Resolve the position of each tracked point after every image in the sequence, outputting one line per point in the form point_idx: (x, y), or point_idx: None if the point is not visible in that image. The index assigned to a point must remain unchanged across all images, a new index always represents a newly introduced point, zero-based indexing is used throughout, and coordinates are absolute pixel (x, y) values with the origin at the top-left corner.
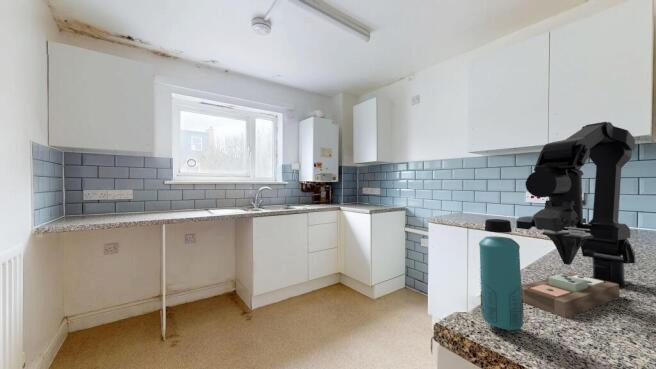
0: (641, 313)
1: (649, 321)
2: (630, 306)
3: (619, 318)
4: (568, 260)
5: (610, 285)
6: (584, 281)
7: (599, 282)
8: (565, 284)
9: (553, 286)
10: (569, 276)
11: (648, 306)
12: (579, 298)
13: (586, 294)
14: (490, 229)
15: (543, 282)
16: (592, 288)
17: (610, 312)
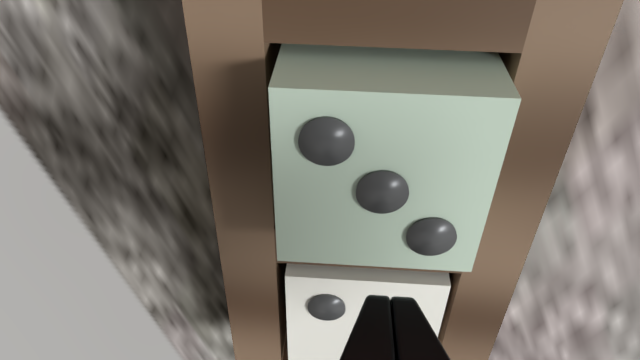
0: (92, 193)
1: (6, 114)
2: (166, 245)
3: (63, 15)
4: (358, 338)
5: (244, 340)
6: (276, 224)
7: (288, 338)
8: (355, 76)
9: (445, 20)
10: (400, 261)
11: (143, 297)
12: None
13: (193, 46)
14: None
15: (551, 60)
16: (258, 222)
17: (141, 75)
